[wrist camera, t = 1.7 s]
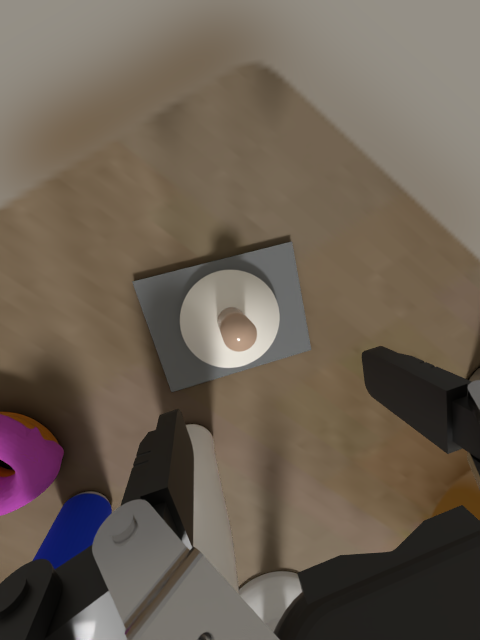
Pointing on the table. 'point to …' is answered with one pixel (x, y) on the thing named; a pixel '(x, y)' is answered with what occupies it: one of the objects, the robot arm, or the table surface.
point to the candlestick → (271, 595)
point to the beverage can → (74, 527)
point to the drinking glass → (211, 508)
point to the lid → (229, 318)
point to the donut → (26, 460)
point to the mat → (171, 288)
